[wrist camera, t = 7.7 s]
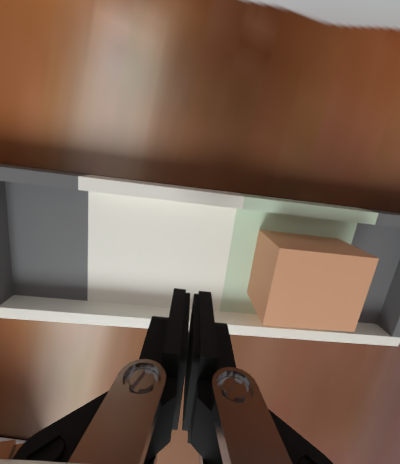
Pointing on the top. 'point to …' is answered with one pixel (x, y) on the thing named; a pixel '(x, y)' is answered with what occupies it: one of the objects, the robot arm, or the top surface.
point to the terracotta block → (309, 281)
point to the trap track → (168, 252)
